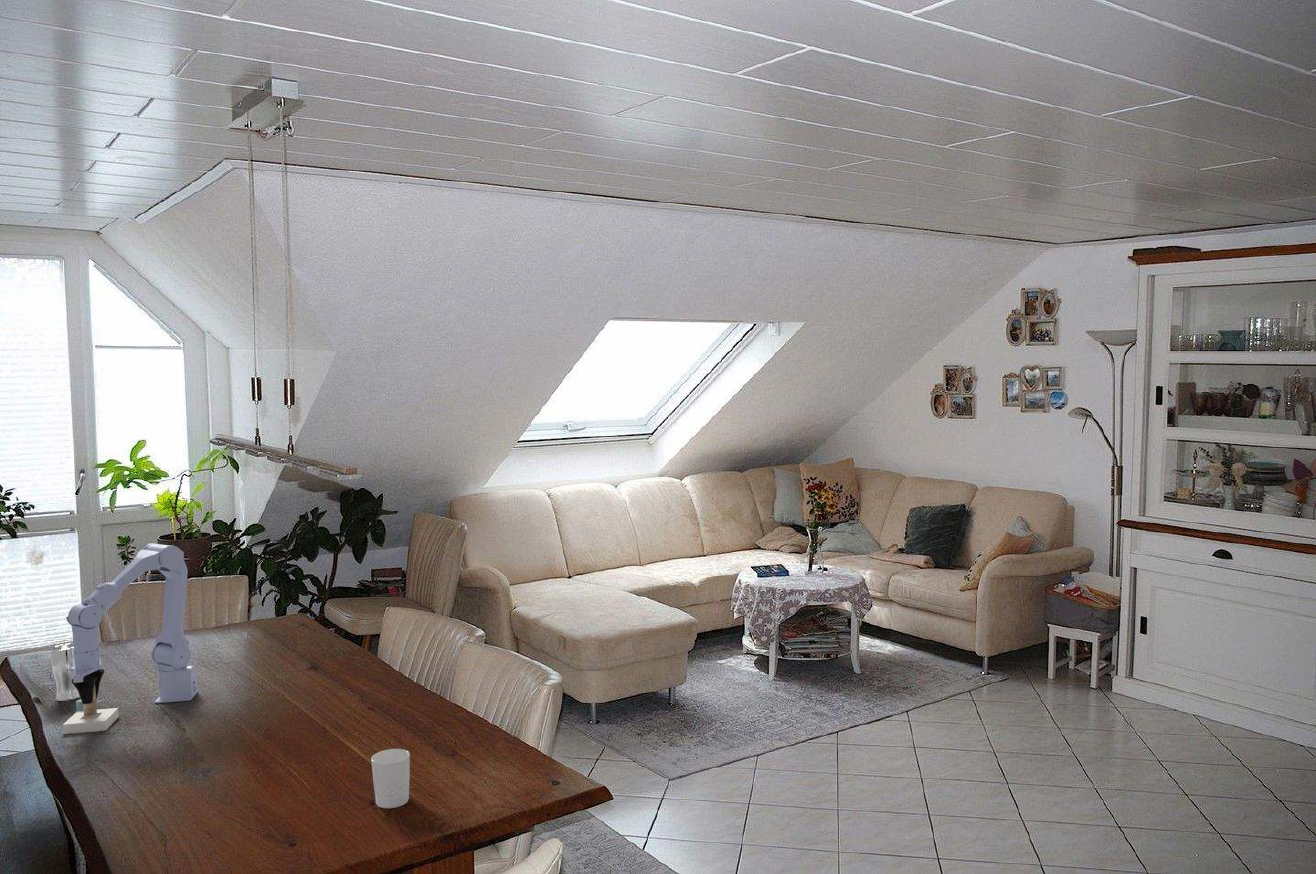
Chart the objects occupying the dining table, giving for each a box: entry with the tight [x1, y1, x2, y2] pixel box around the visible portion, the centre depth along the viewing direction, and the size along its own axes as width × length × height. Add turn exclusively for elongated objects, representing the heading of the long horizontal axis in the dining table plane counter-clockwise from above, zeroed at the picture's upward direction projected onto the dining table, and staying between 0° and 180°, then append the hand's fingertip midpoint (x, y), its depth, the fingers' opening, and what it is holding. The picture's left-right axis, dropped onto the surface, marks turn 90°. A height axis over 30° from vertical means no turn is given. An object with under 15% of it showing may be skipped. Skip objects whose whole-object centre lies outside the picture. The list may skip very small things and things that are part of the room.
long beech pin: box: [83, 686, 98, 716], centre depth 260 cm, size 3×3×8 cm
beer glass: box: [50, 642, 80, 702], centre depth 282 cm, size 7×7×15 cm
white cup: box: [370, 748, 411, 809], centre depth 211 cm, size 8×8×10 cm
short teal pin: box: [75, 699, 83, 712], centre depth 267 cm, size 3×3×4 cm
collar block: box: [62, 707, 120, 735], centre depth 260 cm, size 10×10×2 cm
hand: (89, 701), depth 260 cm, fingers closed on long beech pin, 3 cm apart
